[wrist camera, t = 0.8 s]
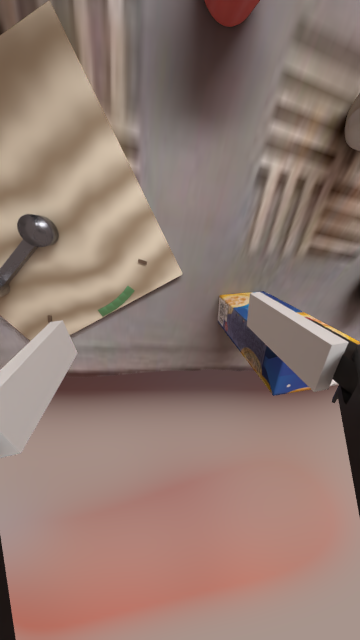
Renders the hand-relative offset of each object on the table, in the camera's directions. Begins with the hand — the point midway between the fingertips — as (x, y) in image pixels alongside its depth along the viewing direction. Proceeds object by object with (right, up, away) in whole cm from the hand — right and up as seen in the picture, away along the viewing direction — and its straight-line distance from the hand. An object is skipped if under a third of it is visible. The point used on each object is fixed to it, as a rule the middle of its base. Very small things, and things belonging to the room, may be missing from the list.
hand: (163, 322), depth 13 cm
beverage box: (+16, +3, +30) cm, 34 cm away
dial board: (-21, +15, +17) cm, 31 cm away
